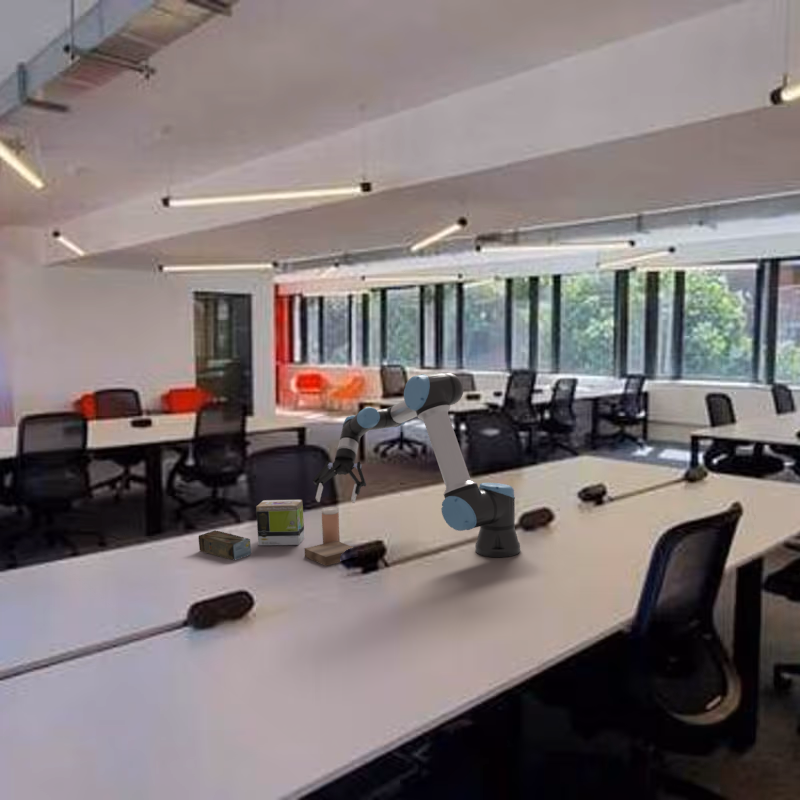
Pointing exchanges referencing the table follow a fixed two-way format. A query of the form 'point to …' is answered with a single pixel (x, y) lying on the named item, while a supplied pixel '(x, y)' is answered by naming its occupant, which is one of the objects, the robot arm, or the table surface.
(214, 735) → the table surface
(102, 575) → the table surface
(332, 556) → the wooden square slab
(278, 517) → the tea box
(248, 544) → the beverage carton
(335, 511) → the terracotta canister
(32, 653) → the table surface
